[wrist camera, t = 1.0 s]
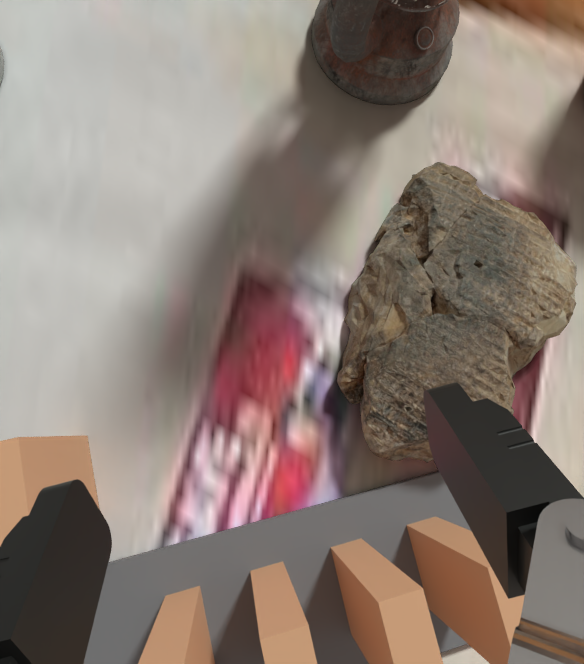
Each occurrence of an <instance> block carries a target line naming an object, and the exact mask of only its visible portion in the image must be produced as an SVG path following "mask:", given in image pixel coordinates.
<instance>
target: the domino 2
mask: <svg viewBox="0 0 584 664" xmlns="http://www.w3.org/2000/svg"><path fill="white" fill-rule="evenodd" d="M138 664H215V661H214V656H213V650H212V645H211V640H210V635H209V630H208V625H207V619H206V614H205V609H204V604H203V599H202V594H201V589H200V586H197V587H194V588H190V589H187V590H183V591H180V592H177V593H173V594H170V595H166V596H165V598H164V601H163V603H162V606H161V608H160V610H159V613H158V615H157V618H156V620H155V623H154V625H153V628H152V630H151V633H150V635H149V638H148V640H147V643H146V645H145V648H144V650H143V653H142V655H141V658H140V660H139V663H138Z"/></svg>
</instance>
